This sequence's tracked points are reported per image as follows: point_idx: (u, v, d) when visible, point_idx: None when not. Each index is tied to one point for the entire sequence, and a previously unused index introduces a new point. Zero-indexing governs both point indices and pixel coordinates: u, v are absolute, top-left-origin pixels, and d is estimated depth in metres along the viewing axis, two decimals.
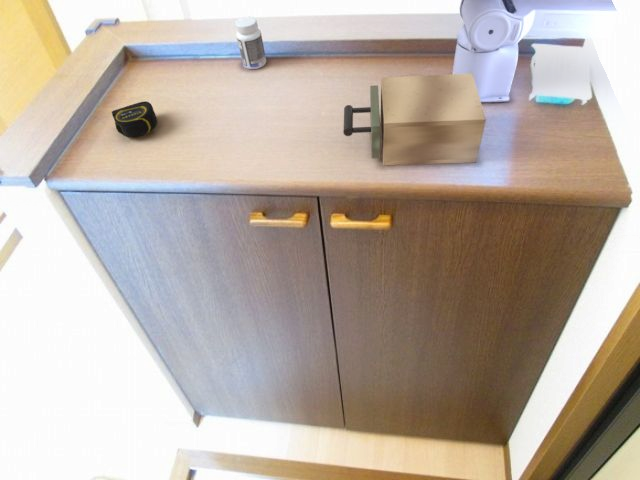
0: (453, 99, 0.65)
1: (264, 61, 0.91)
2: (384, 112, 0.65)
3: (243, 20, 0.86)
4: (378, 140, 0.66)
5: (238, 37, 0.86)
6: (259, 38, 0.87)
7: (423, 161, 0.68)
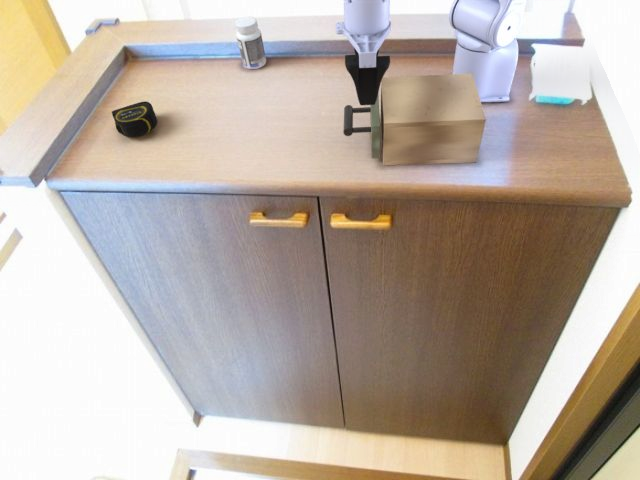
0: (453, 99, 0.65)
1: (264, 61, 0.91)
2: (384, 112, 0.65)
3: (243, 20, 0.86)
4: (378, 140, 0.66)
5: (238, 37, 0.86)
6: (259, 38, 0.87)
7: (423, 161, 0.68)
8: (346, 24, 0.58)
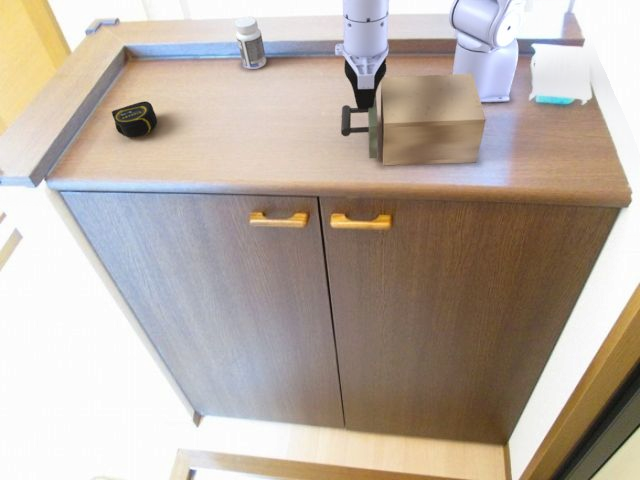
0: (453, 99, 0.65)
1: (264, 61, 0.91)
2: (384, 112, 0.65)
3: (243, 20, 0.86)
4: (376, 140, 0.66)
5: (238, 37, 0.86)
6: (259, 38, 0.87)
7: (423, 161, 0.68)
8: (345, 46, 0.60)
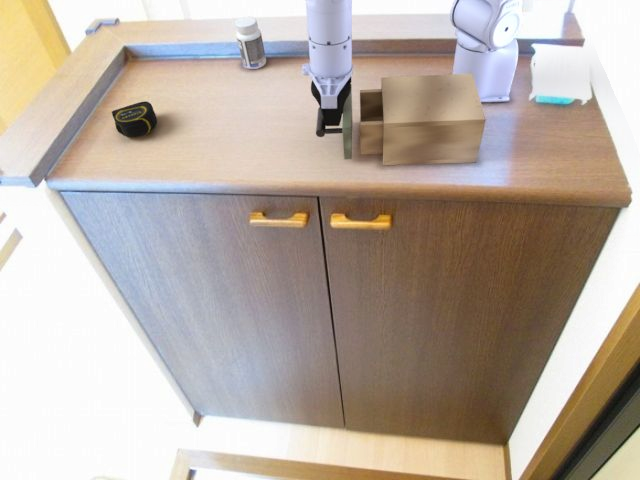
0: (453, 99, 0.65)
1: (264, 61, 0.91)
2: (384, 112, 0.65)
3: (243, 20, 0.86)
4: (349, 141, 0.67)
5: (238, 37, 0.86)
6: (259, 38, 0.87)
7: (423, 161, 0.68)
8: (311, 67, 0.62)
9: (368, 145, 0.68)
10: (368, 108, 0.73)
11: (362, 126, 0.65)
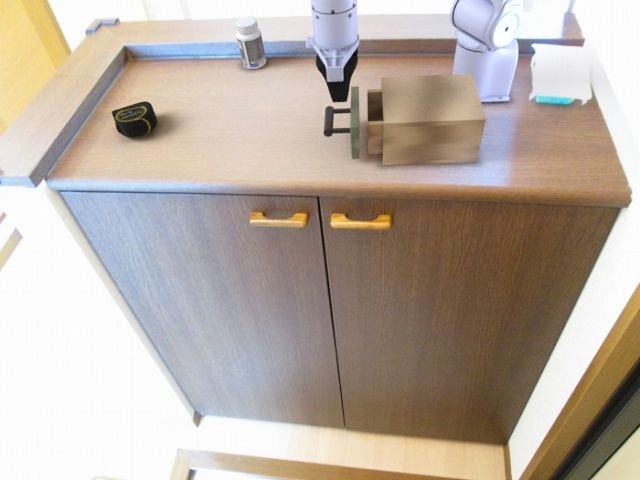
0: (453, 99, 0.65)
1: (264, 61, 0.91)
2: (384, 112, 0.65)
3: (243, 20, 0.86)
4: (357, 141, 0.67)
5: (238, 37, 0.86)
6: (259, 38, 0.87)
7: (423, 161, 0.68)
8: (315, 39, 0.60)
9: (376, 145, 0.68)
10: (376, 107, 0.72)
11: (370, 126, 0.65)
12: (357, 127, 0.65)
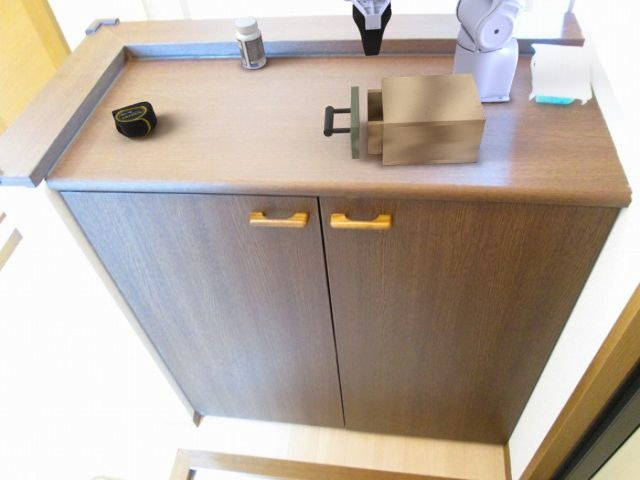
0: (453, 99, 0.65)
1: (264, 61, 0.91)
2: (384, 112, 0.65)
3: (243, 20, 0.86)
4: (357, 141, 0.67)
5: (238, 37, 0.86)
6: (259, 38, 0.87)
7: (423, 161, 0.68)
8: None
9: (376, 145, 0.68)
10: (376, 107, 0.72)
11: (370, 126, 0.65)
12: (357, 127, 0.65)
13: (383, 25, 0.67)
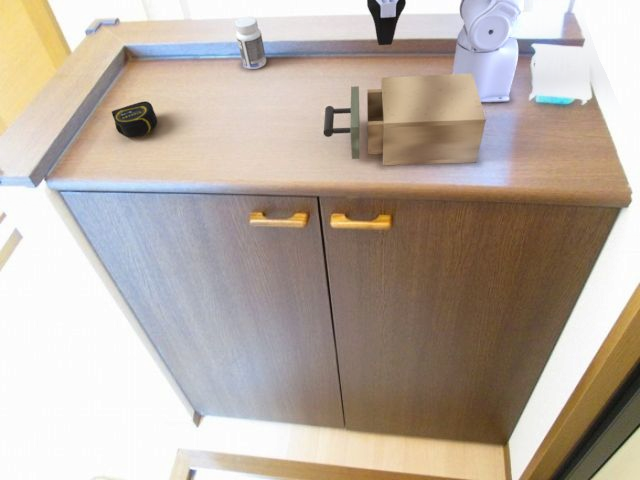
0: (453, 99, 0.65)
1: (264, 61, 0.91)
2: (384, 112, 0.65)
3: (243, 20, 0.86)
4: (357, 141, 0.67)
5: (238, 37, 0.86)
6: (259, 38, 0.87)
7: (423, 161, 0.68)
8: None
9: (376, 145, 0.68)
10: (376, 107, 0.72)
11: (370, 126, 0.65)
12: (357, 127, 0.65)
13: (397, 14, 0.68)
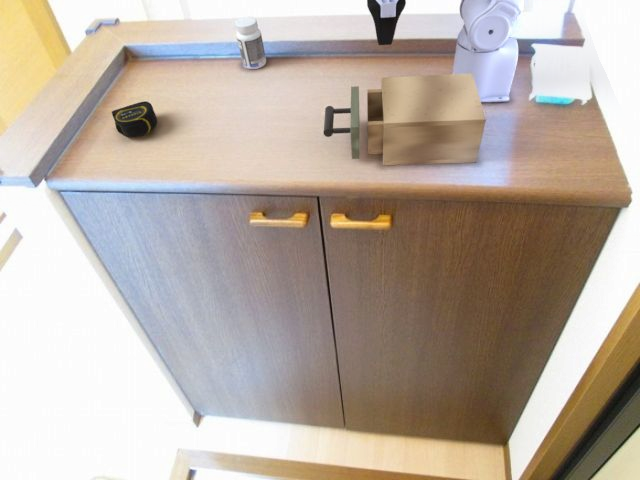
0: (453, 99, 0.65)
1: (264, 61, 0.91)
2: (384, 112, 0.65)
3: (243, 20, 0.86)
4: (357, 141, 0.67)
5: (238, 37, 0.86)
6: (259, 38, 0.87)
7: (423, 161, 0.68)
8: None
9: (376, 145, 0.68)
10: (376, 107, 0.72)
11: (370, 126, 0.65)
12: (357, 127, 0.65)
13: (397, 14, 0.68)
